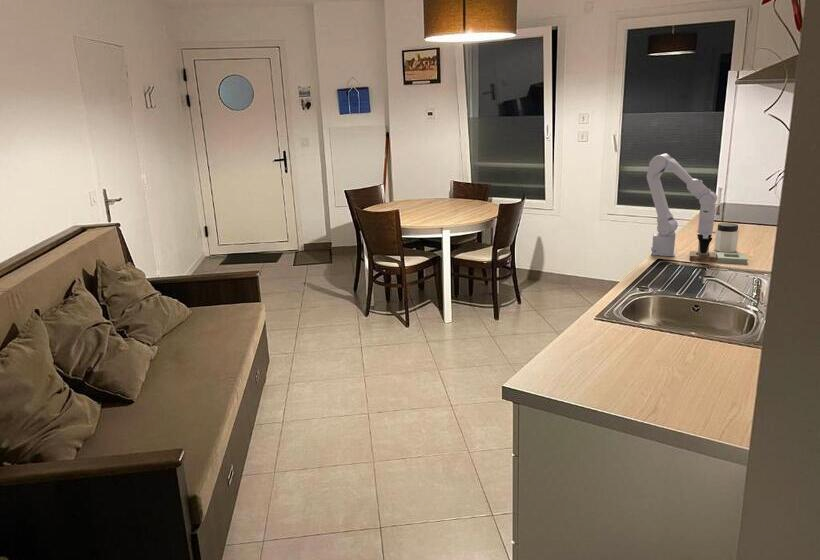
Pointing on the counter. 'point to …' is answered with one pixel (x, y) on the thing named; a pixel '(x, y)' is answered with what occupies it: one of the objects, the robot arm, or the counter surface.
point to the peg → (702, 253)
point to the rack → (731, 258)
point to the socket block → (702, 256)
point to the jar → (726, 237)
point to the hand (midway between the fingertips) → (703, 252)
